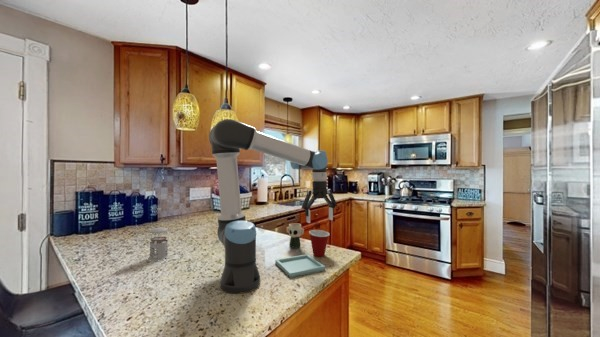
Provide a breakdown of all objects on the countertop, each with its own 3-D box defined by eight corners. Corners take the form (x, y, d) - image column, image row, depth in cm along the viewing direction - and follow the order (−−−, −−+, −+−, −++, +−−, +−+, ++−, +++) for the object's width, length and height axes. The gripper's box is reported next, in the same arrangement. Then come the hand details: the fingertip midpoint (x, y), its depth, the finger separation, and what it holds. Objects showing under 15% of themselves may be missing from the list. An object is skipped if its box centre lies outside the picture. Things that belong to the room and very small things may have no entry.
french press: (152, 263, 115) (152, 210, 115) (142, 257, 122) (142, 207, 122) (173, 257, 123) (173, 207, 123) (163, 252, 130) (163, 205, 130)
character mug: (283, 247, 138) (283, 225, 138) (289, 244, 144) (289, 222, 144) (301, 250, 133) (301, 226, 133) (306, 246, 140) (306, 224, 140)
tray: (290, 277, 100) (290, 273, 100) (275, 263, 115) (275, 259, 115) (325, 270, 107) (325, 266, 107) (307, 257, 122) (307, 254, 122)
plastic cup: (325, 260, 119) (325, 235, 119) (305, 256, 124) (305, 233, 124) (332, 253, 129) (332, 230, 129) (313, 250, 133) (313, 228, 133)
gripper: (301, 181, 117) (301, 225, 117) (343, 180, 129) (343, 220, 129) (294, 180, 124) (295, 222, 124) (335, 179, 135) (335, 217, 135)
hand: (319, 221), depth 126 cm, fingers open, 13 cm apart
